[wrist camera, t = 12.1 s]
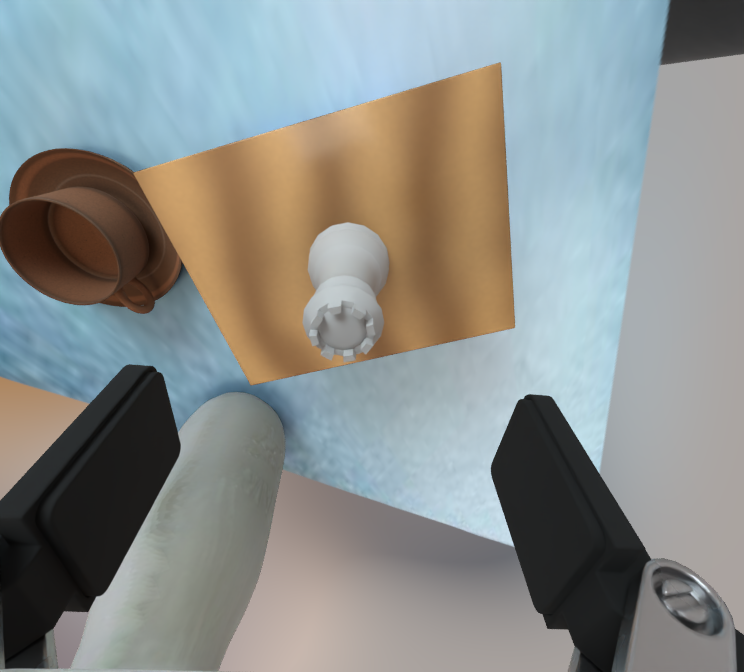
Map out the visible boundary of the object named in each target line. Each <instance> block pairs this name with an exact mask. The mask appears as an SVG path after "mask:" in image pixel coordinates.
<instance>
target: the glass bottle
mask: <svg viewBox="0 0 744 672" xmlns="http://www.w3.org/2000/svg"><path fill="white" fill-rule="evenodd" d="M178 435H179V439H180V443H181V450H180V454H179V457H178V459H177V461H176V463H175V465H174V467H173V469H172V470H171V472H170V474H169V476H168V478H167V480H166V482H165V484H164V485H163V487H162V489H161V491H160V493H159V495H158V497H157V498H156V500H155V502H154V504H153V506H152V508H151V510H150V511H149V513H148V515H147V517H146V519H145V521H144V523H143V525H142V526H141V528H140V530H139V532H138V534H137V536H136V538H135V539H134V541H133V543H132V545H131V547H130V549H129V551H128V552H127V554H126V556H125V558H124V560H123V562H122V564H121V566H120V567H119V569H118V571H117V573H116V575H115V577H114V579H113V580H112V582H111V584H110V586H109V588H108V589H107V591H106V592H105V593H104V594H103V595H102V596H98V597H96V599H95V601H94V602H93V604H92V606H91V608H90V612H89V615H88V619H87V622H86V626H85V629H84V633H83V636H82V640H81V643H80V646H79V649H78V651H77V653H76V656H75V658H74V660H73V663H72V665H71V667H70V669H132V670H176V671H218V670H219V668H220V665H221V662H222V660H223V658H224V655H225V652H226V650H227V648H228V645H229V643H230V641H231V639H232V637H233V635H234V633H235V631H236V629H237V627H238V625H239V623H240V621H241V619H242V617H243V615H244V613H245V611H246V608H247V606H248V604H249V602H250V599H251V597H252V594H253V592H254V589H255V587H256V584H257V581H258V578H259V575H260V572H261V568H262V565H263V561H264V556H265V552H266V547H267V542H268V538H269V533H270V529H271V523H272V518H273V512H274V506H275V502H276V497H277V492H278V488H279V483H280V478H281V473H282V469H283V464H284V457H285V435H284V430H283V426H282V423H281V421H280V419H279V417H278V415H277V414H276V412H275V411H274V410H273V409H272V408H271V407H270V406H269V405H268V404H267V403H265V402H264V401H262V400H261V399H259V398H258V397H256V396H254V395H251V394H248V393H242V392H230V393H225V394H222V395H220V396H217V397H215V398H213V399H210V400H208V401H207V402H206V403H204V404H203V405H202V406H201V407H200V408H199V409H198V410H196V411H195V412H194V414H193V415H192V416H191V417H190V418H189V419H188V420H187V421H186V422H185V423H184V425H183V426H182V428H181V429H180V431H179V432H178Z"/></svg>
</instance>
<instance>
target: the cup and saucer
mask: <svg viewBox="0 0 744 672" xmlns="http://www.w3.org/2000/svg"><path fill="white" fill-rule="evenodd" d="M133 173H134V172H133V171H132V170H130V169H129V168H127V167H126V166H124V165H122V164H120V163H118V162H117V161H114V160H112V159H110V158H108V157H105V156H103V155H100V154H97V153H93V152H89V151H84V150H78V149H67V148H65V149H53V150H47V151H44V152H41V153H39V154H36V155H34V156H33V157H31V158H29V159H28V160H27V161H26V162H24V163H23V164H22V165H21V167H20V168H19V169H18V170H17V172H16V174H15V175H14V178H13V180H12V183H11V187H10V194H9V206H8V207H7V208H6V209H5V210H4V211H3V213H2V214H1V216H0V247H1V250H2V252H3V254H4V256H5V258H6V260H7V261H8V263H9V264H10V265H11V267H12V268H13V269H14V270H15V272H16V273H17V274H18V275H19V276H20V277H21V278H22V279H23V280H24V281H26V282H27V283H28V284H29V285H30V286H32V287H33V288H35V289H36V290H38V291H39V292H41V293H43V294H45V295H46V296H48V297H51V298H53V299H55V300H58V301H61V302H64V303H69V304H74V305H92V304H96V303H102V304H107V305H111V306H119V307H127V308H128V309H130V310H132V311H134V312H136V313H141V314H145V313H149V312H150V311H152V310H153V308H154V304H155V300H158V299H159V298H161V297H162V296H164V295H165V294H166V293H167V292H168V291H169V290H170V289H171V288H172V286H173V285H174V284H175V282H176V280H177V278H178V276H179V273H180V271H181V267H182V260H181V259H180V257H179V255H178V253H177V251H176V249H175V248H174V246H173V244H172V242H171V240H170V239H169V237H168V235H167V233H166V231H165V230H164V228H163V226H162V224H161V222H160V221H159V219H158V217H157V215H156V213H155V212H154V210H153V208H152V206H151V204H150V203H149V201H148V199H147V197H146V195H145V194H144V192H143V190H142V188H141V186H140V185H139V183H138V181H137V179H136V177H135V176H134V174H133ZM140 305H143V306H140Z"/></svg>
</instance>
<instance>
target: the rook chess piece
mask: <svg viewBox="0 0 744 672" xmlns="http://www.w3.org/2000/svg"><path fill="white" fill-rule="evenodd" d="M308 272H309V276H310V279H311V282H312V285H313V287H314V288H315V289H316V292H315V294H314V296H313V297H312V298H311V299H310V301H309V302H308V304H307V305H306V307H305V308H304V314H303V322H302V323H303V326H304V329H305V332H306V335H307V337H308V338H309V339H310V341H311V344H312V346H316V347H317V348H319V349H321V356H323V357H325V358H327V359H329V360H332V358H333V356H334V355H340V356H343V360H344V362H350V361H355V360H356V354H360V353H362V352H363V353H365V354H367V353H368V352H369V350H370V349H371V348H372V347H373V345H374V344H375V343H376V341H377V340H378V339H379V338H380V336H381V334H382V330H383V326H384V318H383V313H382V309H381V307H380V306H379V305H378V303H377V300H376V296H377V295H378V294H379V292H380V291H381V289H382V288H383V287H384V285H385V284H386V280H387V276H388V272H389V258H388V252H387V248H386V246H385V245H384V243H383V242H382V240H381V239H380V237H379V236H378V234H376V233H375V232H373V231H372V230H370V229H369V228H367V227H366V226H364V225H359V224H353V223H348V222H347V223H342V224H337V225H332V226H330V227H329V228H327V229H326V230H325V231H323V232H322V233H320V234H319V235H318V236H317V238H316V239H315V241H314V243H313V244H312V246H311V248H310V254H309V262H308Z"/></svg>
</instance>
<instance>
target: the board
mask: <svg viewBox="0 0 744 672" xmlns="http://www.w3.org/2000/svg"><path fill="white" fill-rule="evenodd" d="M133 174H134V176H135V177H136V179H137V181H138V183H139V185H140V186H141V188H142V190H143V192H144V194H145V195H146V197H147V199H148V201H149V203H150V204H151V206H152V208H153V210H154V212H155V213H156V215H157V217H158V219H159V221H160V222H161V224H162V226H163V228H164V230H165V231H166V233H167V235H168V237H169V239H170V240H171V242H172V244H173V246H174V248H175V249H176V251H177V253H178V255H179V257H180V259H181V260H182V262H183V264H184V266H185V268H186V269H187V271H188V273H189V275H190V277H191V278H192V280H193V282H194V284H195V286H196V287H197V289H198V291H199V293H200V295H201V296H202V298H203V300H204V302H205V304H206V305H207V307H208V309H209V311H210V313H211V314H212V316H213V318H214V320H215V322H216V323H217V325H218V327H219V329H220V331H221V332H222V334H223V336H224V338H225V340H226V341H227V343H228V345H229V347H230V349H231V350H232V352H233V354H234V356H235V358H236V359H237V361H238V363H239V365H240V367H241V368H242V370H243V372H244V374H245V376H246V377H247V379H248V381H249V383H250V385H255V384H260V383H264V382H269V381H273V380H278V379H283V378H287V377H292V376H296V375H301V374H306V373H310V372H315V371H319V370H324V369H329V368H333V367H338V366H342V365H347V364H351V363H356V362H361V361H365V360H370V359H374V358H379V357H384V356H388V355H393V354H397V353H402V352H406V351H411V350H416V349H420V348H425V347H429V346H434V345H439V344H443V343H448V342H452V341H457V340H462V339H466V338H471V337H475V336H480V335H484V334H489V333H494V332H498V331H503V330H507V329H512V328H515V316H514V297H513V278H512V260H511V241H510V222H509V203H508V185H507V166H506V147H505V128H504V109H503V91H502V72H501V63H496V64H493V65H490V66H486V67H483V68H480V69H476V70H473V71H470V72H467V73H463V74H460V75H457V76H453V77H450V78H447V79H443V80H440V81H437V82H433V83H430V84H427V85H423V86H420V87H417V88H413V89H410V90H407V91H403V92H400V93H397V94H393V95H390V96H387V97H383V98H380V99H377V100H373V101H370V102H367V103H363V104H360V105H357V106H353V107H350V108H347V109H343V110H340V111H337V112H333V113H330V114H327V115H323V116H320V117H317V118H313V119H310V120H307V121H303V122H300V123H297V124H293V125H290V126H287V127H283V128H280V129H277V130H273V131H270V132H267V133H264V134H260V135H257V136H254V137H250V138H247V139H244V140H240V141H237V142H234V143H230V144H227V145H224V146H220V147H217V148H214V149H210V150H207V151H204V152H200V153H197V154H194V155H190V156H187V157H184V158H180V159H177V160H174V161H170V162H167V163H164V164H160V165H157V166H154V167H150V168H147V169H144V170H140V171H137V172H134V173H133ZM347 222H348V223H353V224H359V225H364V226H366V227H367V228H369V229H370V230H372V231H373V232H375V233H376V234H378V236H379V237H380V239H381V240H382V242H383V243H384V245H385V246H386V248H387V252H388V258H389V272H388V276H387V280H386V284H385V285H384V287H383V288H382V289H381V291H380V292H379V294H378V295H377V296H376V300H377V303H378V305H379V306H380V307H381V309H382V313H383V318H384V326H383V330H382V334H381V336H380V338H379V339H378V340H377V341H376V343H375V344H374V345H373V347H372V348H371V349H370V350H369V352H368V353H367V354H365V353H363V352H362V353H360V354H356V360H355V361H350V362H344V360H343V356H340V355H334V356H333V358H332V360H329V359H327V358H325V357H323V356H321V349H319V348H317V347H316V346H312V344H311V341H310V339H309V338H308V337H307V335H306V332H305V329H304V326H303V323H302V322H303V314H304V308H305V307H306V305H307V304H308V302H309V301H310V299H311V298H312V297H313V296H314V294H315V292H316V289H315V288H314V287H313V285H312V282H311V279H310V276H309V272H308V262H309V254H310V248H311V246H312V244H313V243H314V241H315V239H316V238H317V236H318V235H319V234H320V233H322V232H323V231H325V230H326V229H327V228H329V227H330V226H332V225H337V224H342V223H347Z"/></svg>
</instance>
